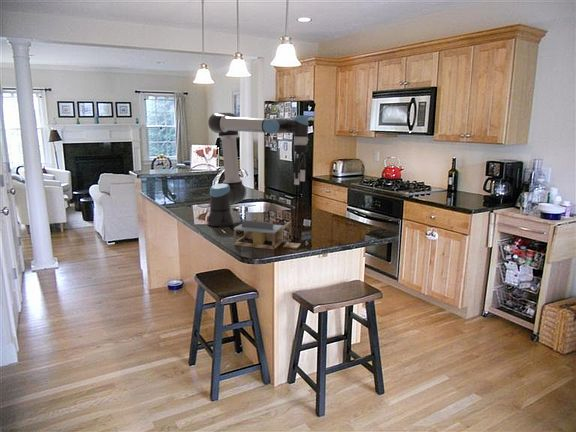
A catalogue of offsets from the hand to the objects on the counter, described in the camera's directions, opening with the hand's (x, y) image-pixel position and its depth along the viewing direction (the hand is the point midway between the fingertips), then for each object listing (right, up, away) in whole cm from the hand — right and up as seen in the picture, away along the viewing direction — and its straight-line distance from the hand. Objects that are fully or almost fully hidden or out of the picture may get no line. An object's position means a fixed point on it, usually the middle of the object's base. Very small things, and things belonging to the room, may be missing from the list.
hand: (299, 182), depth 243 cm
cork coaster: (-5, -33, -28) cm, 44 cm away
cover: (-21, -25, -26) cm, 42 cm away
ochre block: (-21, -32, -25) cm, 46 cm away
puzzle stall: (-19, -31, -18) cm, 40 cm away
